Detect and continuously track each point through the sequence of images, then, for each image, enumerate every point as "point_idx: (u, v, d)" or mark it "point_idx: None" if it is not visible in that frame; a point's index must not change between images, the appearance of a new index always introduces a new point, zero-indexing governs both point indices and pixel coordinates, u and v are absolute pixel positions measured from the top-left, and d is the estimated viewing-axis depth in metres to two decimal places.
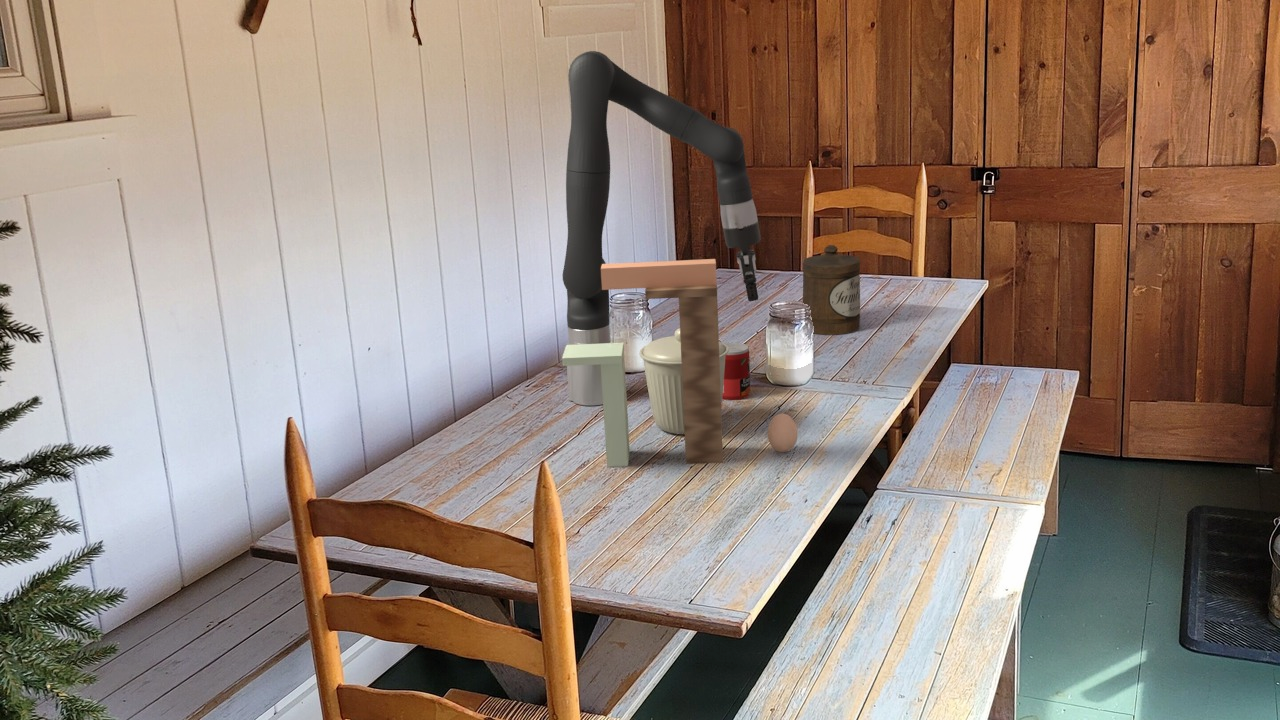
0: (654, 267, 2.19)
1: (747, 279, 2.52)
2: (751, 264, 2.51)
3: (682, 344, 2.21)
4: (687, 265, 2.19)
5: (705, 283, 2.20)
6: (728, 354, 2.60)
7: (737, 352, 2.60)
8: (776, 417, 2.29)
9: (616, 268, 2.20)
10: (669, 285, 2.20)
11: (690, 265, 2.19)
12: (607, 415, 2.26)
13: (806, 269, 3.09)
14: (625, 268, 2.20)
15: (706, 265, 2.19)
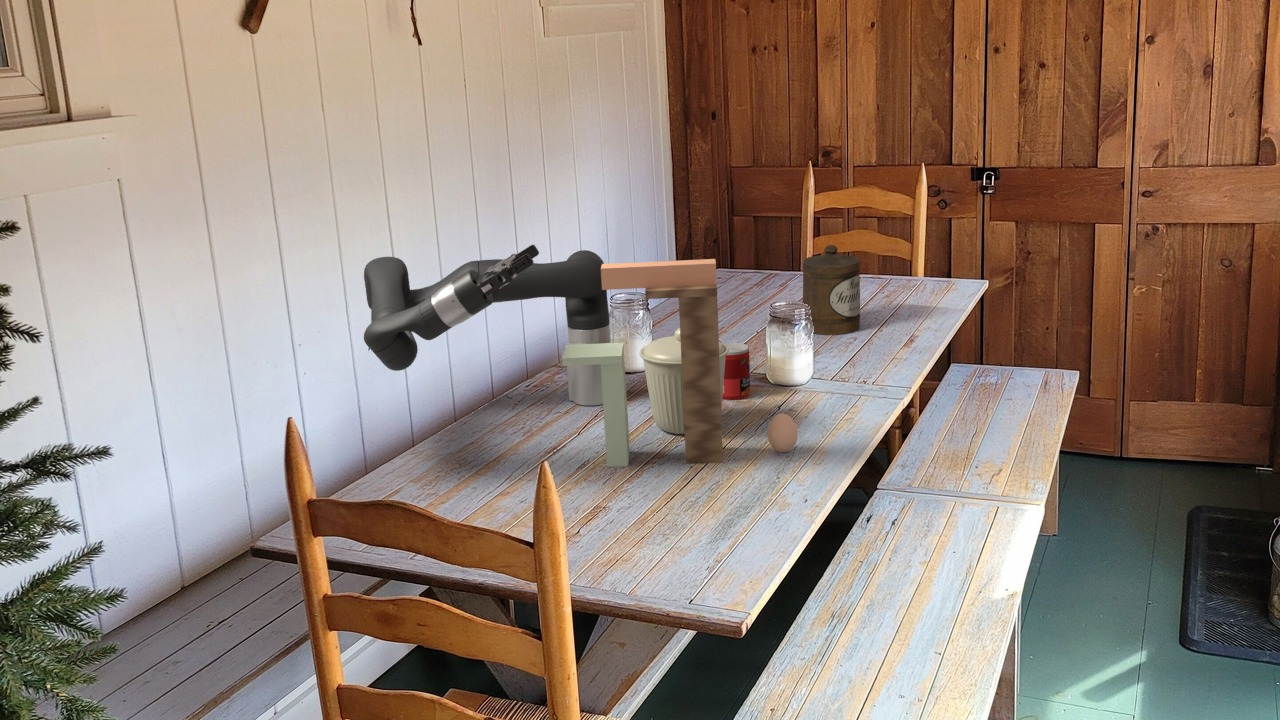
0: (654, 267, 2.19)
1: None
2: None
3: (682, 344, 2.21)
4: (687, 265, 2.19)
5: (705, 283, 2.20)
6: (728, 354, 2.60)
7: (737, 352, 2.60)
8: (776, 417, 2.29)
9: (616, 268, 2.20)
10: (669, 285, 2.20)
11: (690, 265, 2.19)
12: (607, 415, 2.26)
13: (806, 269, 3.09)
14: (625, 268, 2.20)
15: (706, 265, 2.19)
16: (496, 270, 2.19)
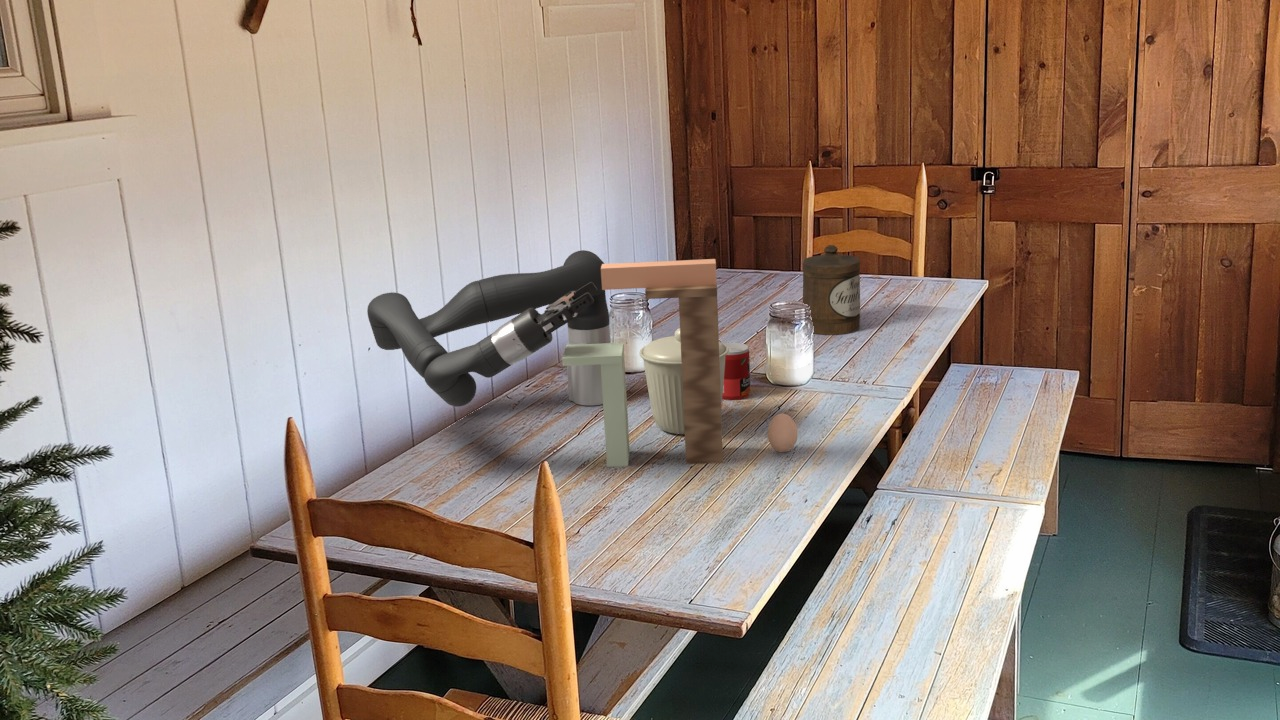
0: (654, 267, 2.19)
1: None
2: None
3: (682, 344, 2.21)
4: (687, 265, 2.19)
5: (705, 283, 2.20)
6: (728, 354, 2.60)
7: (737, 352, 2.60)
8: (776, 417, 2.29)
9: (616, 268, 2.20)
10: (669, 285, 2.20)
11: (690, 265, 2.19)
12: (607, 415, 2.26)
13: (806, 269, 3.09)
14: (625, 268, 2.20)
15: (706, 265, 2.19)
16: (557, 309, 2.21)
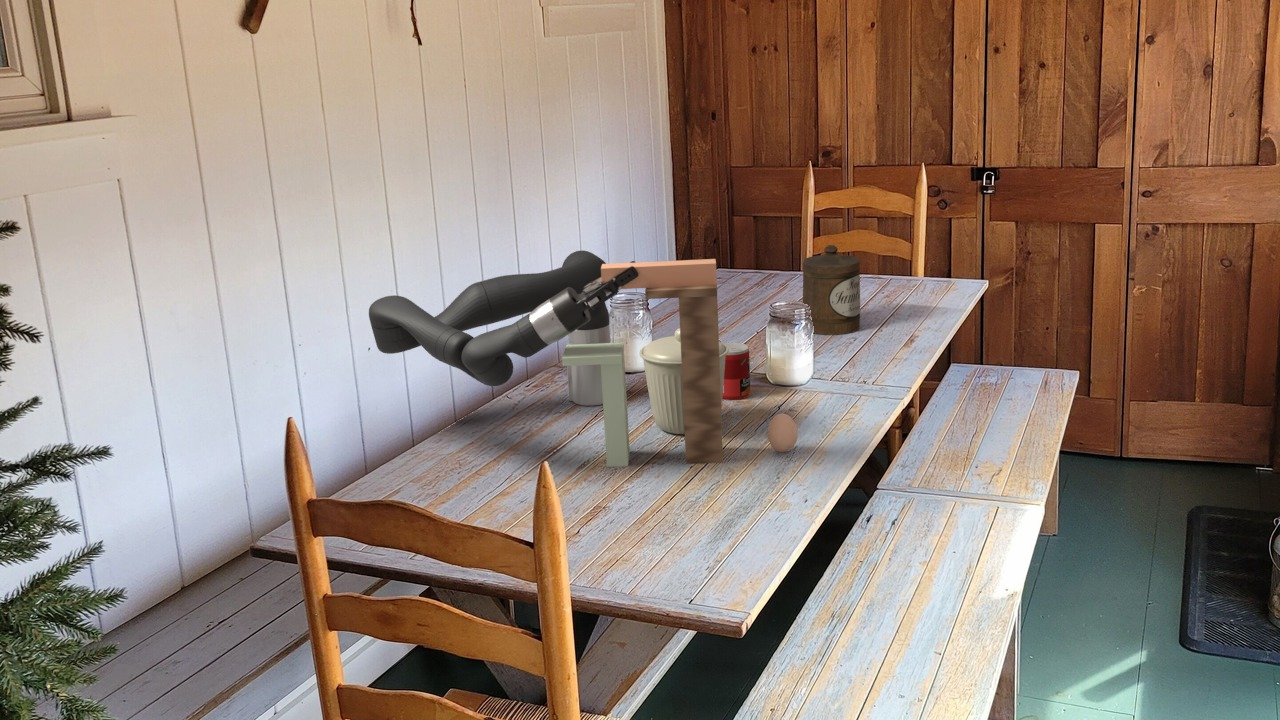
0: (654, 267, 2.19)
1: None
2: None
3: (682, 344, 2.21)
4: (687, 265, 2.19)
5: (705, 283, 2.20)
6: (728, 354, 2.60)
7: (737, 352, 2.60)
8: (776, 417, 2.29)
9: (616, 268, 2.20)
10: (669, 285, 2.20)
11: (690, 265, 2.19)
12: (607, 415, 2.26)
13: (806, 269, 3.09)
14: (625, 268, 2.20)
15: (706, 265, 2.19)
16: (600, 284, 2.20)
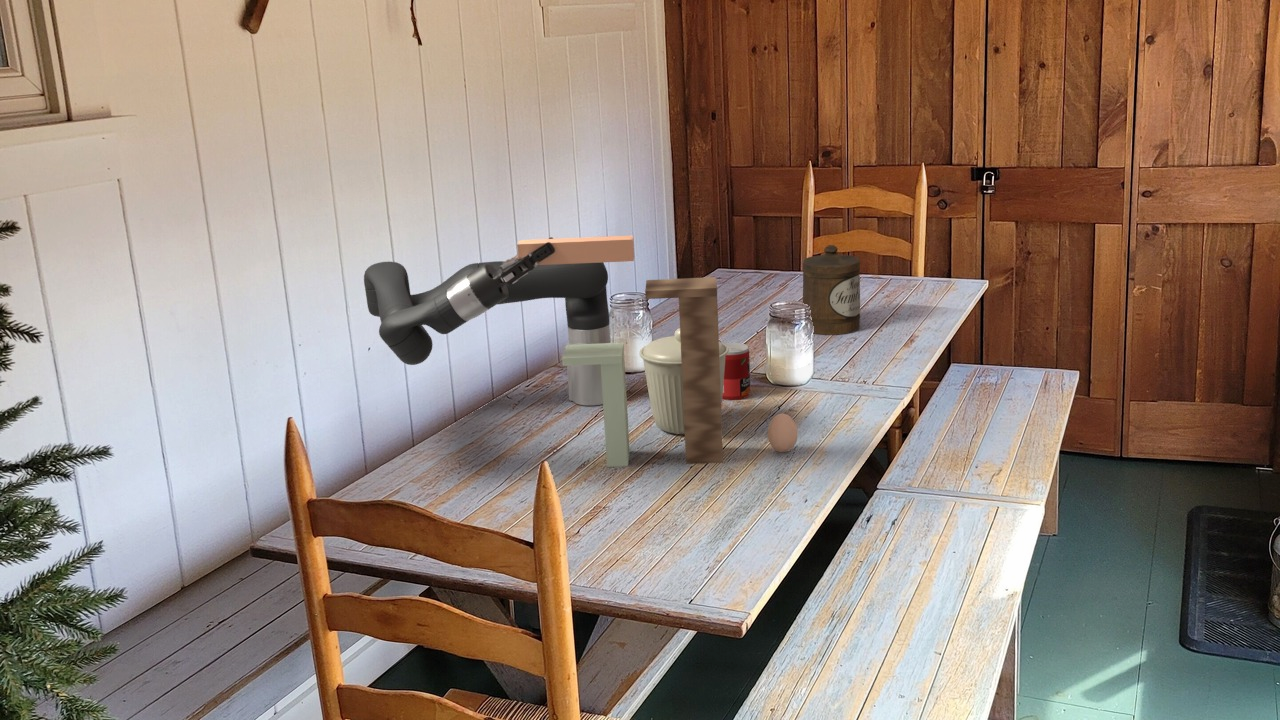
0: (571, 243, 2.19)
1: None
2: None
3: (682, 344, 2.21)
4: (604, 241, 2.18)
5: (622, 259, 2.19)
6: (728, 354, 2.60)
7: (737, 352, 2.60)
8: (776, 417, 2.29)
9: (533, 244, 2.19)
10: (586, 261, 2.20)
11: (607, 241, 2.18)
12: (607, 415, 2.26)
13: (806, 269, 3.09)
14: (541, 244, 2.19)
15: (623, 241, 2.18)
16: (516, 260, 2.19)
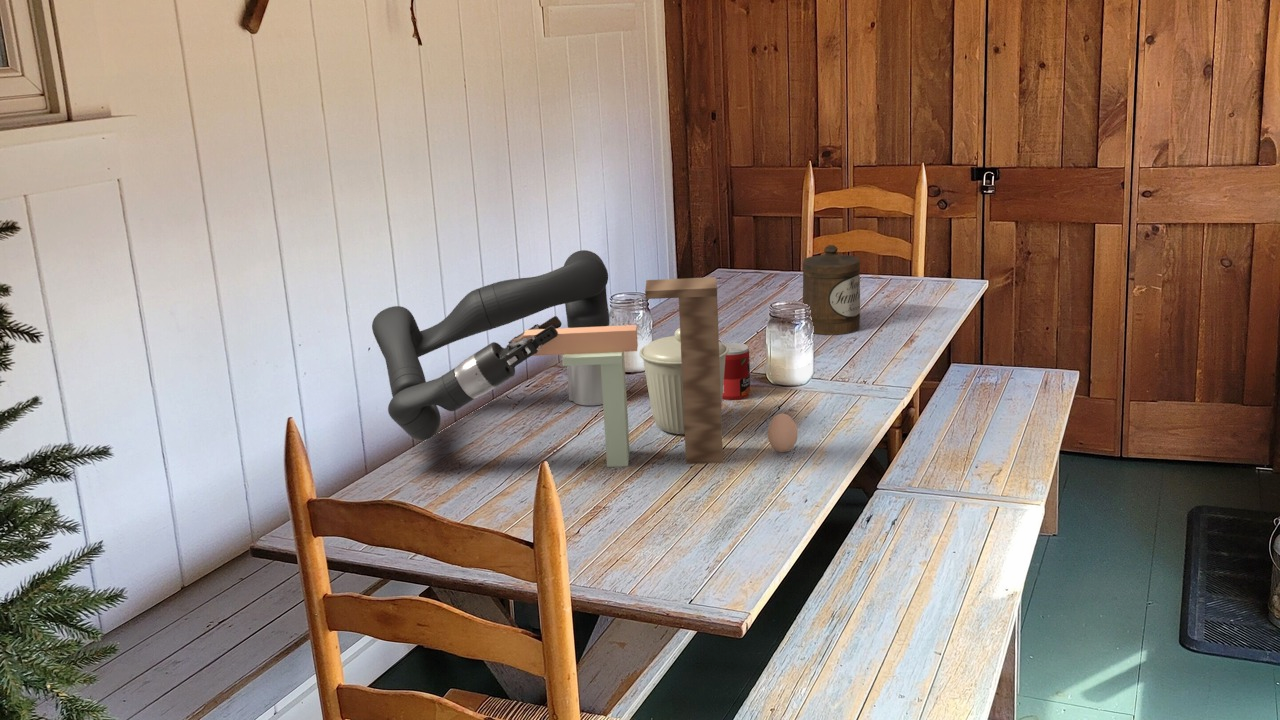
0: (576, 334, 2.24)
1: None
2: None
3: (682, 344, 2.21)
4: (608, 332, 2.23)
5: (626, 349, 2.24)
6: (728, 354, 2.60)
7: (737, 352, 2.60)
8: (776, 417, 2.29)
9: None
10: (591, 351, 2.24)
11: (611, 332, 2.23)
12: (607, 415, 2.26)
13: (806, 269, 3.09)
14: None
15: (626, 332, 2.23)
16: (520, 342, 2.23)
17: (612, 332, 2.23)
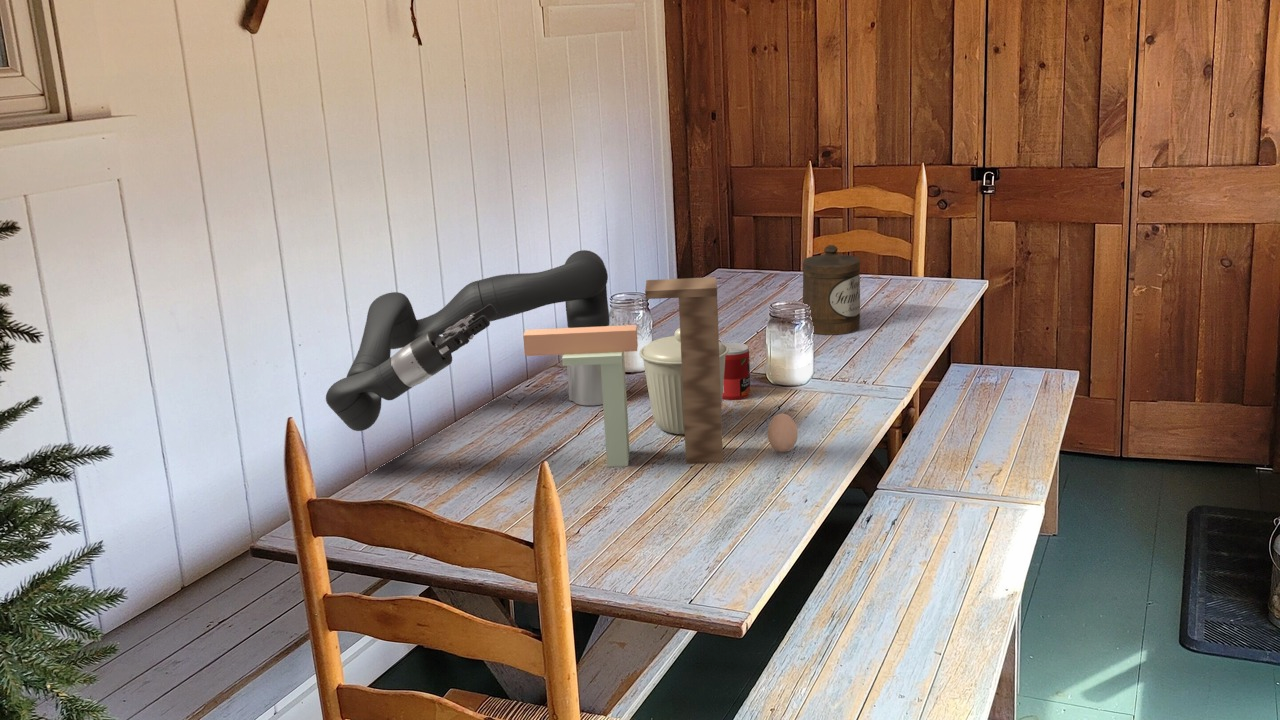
0: (576, 334, 2.24)
1: None
2: None
3: (682, 344, 2.21)
4: (608, 332, 2.23)
5: (626, 349, 2.24)
6: (728, 354, 2.60)
7: (737, 352, 2.60)
8: (776, 417, 2.29)
9: (538, 335, 2.24)
10: (591, 351, 2.24)
11: (611, 332, 2.23)
12: (607, 415, 2.26)
13: (806, 269, 3.09)
14: (547, 335, 2.24)
15: (626, 332, 2.23)
16: (453, 332, 2.22)
17: (612, 332, 2.23)
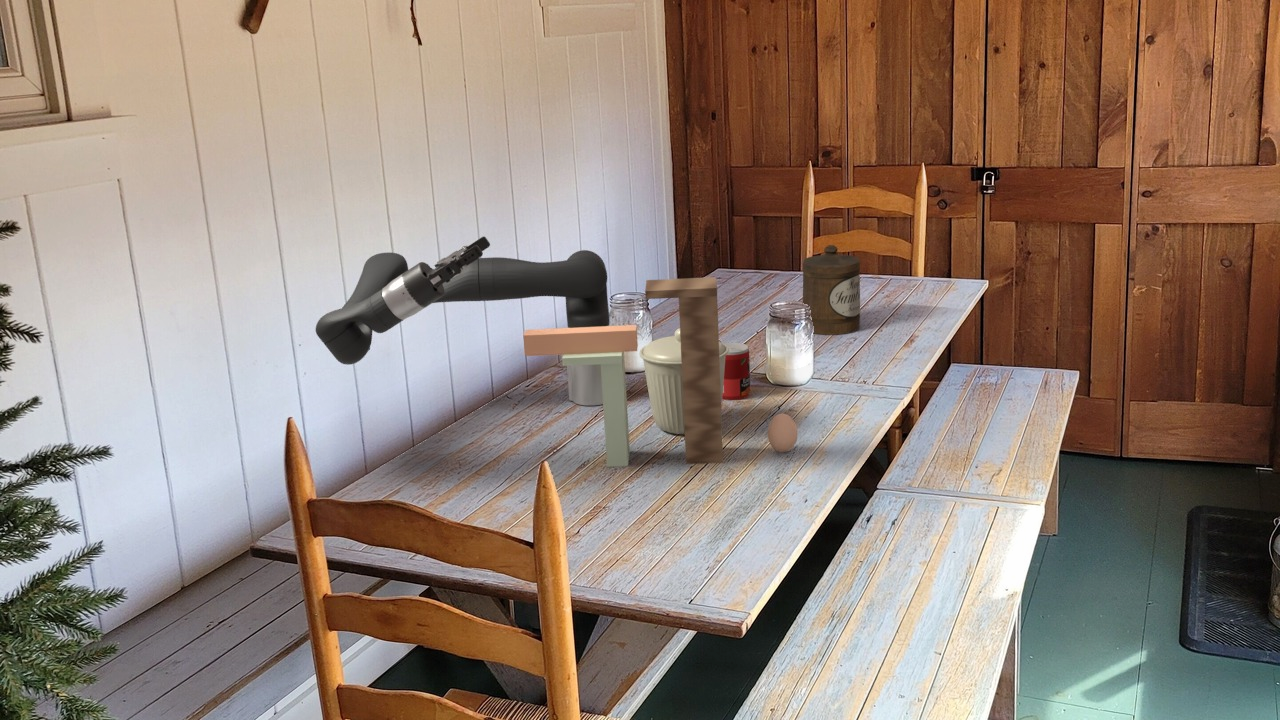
0: (576, 334, 2.24)
1: None
2: None
3: (682, 344, 2.21)
4: (608, 332, 2.23)
5: (626, 349, 2.24)
6: (728, 354, 2.60)
7: (737, 352, 2.60)
8: (776, 417, 2.29)
9: (538, 335, 2.24)
10: (591, 351, 2.24)
11: (611, 332, 2.23)
12: (607, 415, 2.26)
13: (806, 269, 3.09)
14: (547, 335, 2.24)
15: (626, 332, 2.23)
16: (446, 262, 2.19)
17: (612, 332, 2.23)
